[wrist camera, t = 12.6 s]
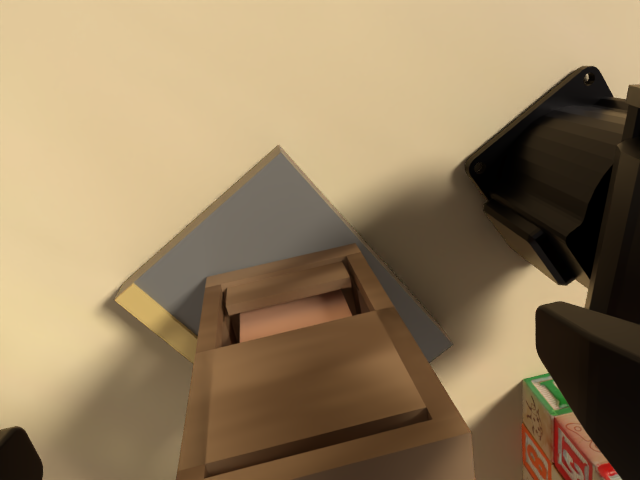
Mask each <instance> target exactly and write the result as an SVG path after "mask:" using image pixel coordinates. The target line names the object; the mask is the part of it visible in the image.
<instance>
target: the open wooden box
mask: <svg viewBox="0 0 640 480" xmlns="http://www.w3.org/2000/svg"><path fill="white" fill-rule="evenodd" d="M339 289H341V291H342V293H343V295H344V298H345V300H346V302H347V305H348V307H349V309H350V312H351V314H352V316H350V317H346V318H342V319H338V320H333V321H329V322H325V323H321V324H317V325H313V326H308V327H304V328H300V329H296V330H292V331H287V332H283V333H279V334H275V335H271V336H267V337H262V338H258V339H254V340H250V341H246V342H242V343H240V313H241V312H246V311H250V310H254V309H258V308H263V307H267V306H271V305H275V304H280V303H284V302H288V301H292V300H297V299H301V298H305V297H309V296H314V295H318V294H322V293H326V292H331V291H335V290H339ZM176 480H475V472H474V460H473V447H472V435H471V431H470V429H469V428H468V426H467V424H466V423H465V421H464V420H463V418H462V416H461V415H460V413H459V411H458V410H457V408H456V406H455V405H454V403H453V402H452V400H451V398H450V397H449V395H448V393H447V392H446V390H445V389H444V387H443V385H442V384H441V382H440V380H439V379H438V377H437V375H436V374H435V372H434V371H433V369H432V367H431V366H430V364H429V362H428V361H427V359H426V357H425V356H424V354H423V353H422V351H421V349H420V348H419V346H418V344H417V343H416V341H415V340H414V338H413V336H412V335H411V333H410V331H409V330H408V328H407V326H406V325H405V323H404V322H403V320H402V318H401V317H400V315H399V313H398V312H397V310H396V309H395V307H394V305H393V304H392V302H391V300H390V299H389V297H388V295H387V294H386V292H385V291H384V289H383V287H382V286H381V284H380V282H379V281H378V279H377V277H376V276H375V274H374V273H373V271H372V269H371V268H370V266H369V264H368V263H367V261H366V260H365V258H364V256H363V255H362V253H361V251H360V250H359V248H358V246H357V245H356V243H354V244H349V245H345V246H340V247H336V248H332V249H327V250H323V251H319V252H314V253H310V254H305V255H301V256H297V257H292V258H288V259H283V260H279V261H275V262H270V263H266V264H262V265H257V266H253V267H248V268H244V269H240V270H235V271H231V272H227V273H222V274H218V275H213V276H209V277H207V279H206V286H205V292H204V299H203V305H202V312H201V319H200V325H199V332H198V339H197V345H196V352H195V358H194V365H193V372H192V378H191V385H190V392H189V398H188V405H187V411H186V418H185V425H184V431H183V438H182V445H181V451H180V458H179V465H178V471H177V478H176Z"/></svg>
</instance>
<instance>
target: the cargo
mask: <svg viewBox="0 0 640 480" xmlns="http://www.w3.org/2000/svg"><path fill="white" fill-rule="evenodd" d="M350 316H352V314H351V312H350V309H349V307H348V305H347V302H346V300H345V298H344V295H343V293H342V291H341V289H339V290H335V291H331V292H326V293H322V294H318V295H314V296H309V297H305V298H301V299H297V300H292V301H288V302H284V303H280V304H275V305H271V306H267V307H263V308H258V309H254V310H250V311H246V312H241V313H240V343H242V342H246V341H250V340H254V339H258V338H262V337H267V336H271V335H275V334H279V333H283V332H287V331H292V330H296V329H300V328H304V327H308V326H313V325H317V324H321V323H325V322H329V321H333V320H338V319H342V318H346V317H350Z"/></svg>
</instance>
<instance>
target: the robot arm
mask: <svg viewBox="0 0 640 480" xmlns="http://www.w3.org/2000/svg"><path fill="white" fill-rule="evenodd" d="M586 74H588V75H589V79H588V81H587V83H586V84H584V82H583V79H584V76H585V75H586ZM479 162H481V164H482V167H481V169H480V170H479V171H477V172H475V170H474V168H475V165H476V164H477V163H479ZM465 171H466V173H467V175H468V176H469V177H470V179H471V180H472V181H473V183H474V184H475V186H476V187H477V188H478V190H479V191H480V192H481V194H482V195H483V197H484V198H485V199H486V201H487V202H486V203H485V204H484V209H483V211H484V213H485V214H486V215H487V217H488V218H489V219H490V221H491V222H492V223H493V225H494V226H495V227H496V229H497V230H498V232H499V233H500V234H501V236H502V237H503V238H504V240H505V241H506V242H507V244H508V245H509V246H510V248H512V249H513V250H514V251H515V252H517V253H518V254H519V255H521V256H522V257H523V258H524V259H526V260H527V261H528V262H530V263H531V264H532V265H533V266H535V267H536V268H537V269H539V270H540V271H541V272H542V273H544V274H545V275H546V276H548V277H549V278H550V279H551V280H553V281H554V282H555V283H557V284H558V285H565V286H567V285H568V284H569V283H571V282H572V281H573V280H577V281H578V282H579V283H581V284H582V285H584V286H585V287H586V288H588V293H587V298H586V303H585V308H582V307H579V306H575V305H572V304H569V303H565V302H561V301H558V302H554V303H549V304H545V305H541V306H539V307H538V308H537V310H536V315H535V321H536V349H537V353H538V355H539V358H540V359H541V361H542V363H543V364H544V366H545V368H546V369H547V371H548V372H549V374H550V376H551V377H552V379H553V381H554V382H555V384H556V385H557V387H558V389H559V390H560V392H561V393H562V395H563V397H564V398H565V400H566V402H567V403H568V405H569V406H570V408H571V410H572V411H573V413H574V415H575V416H576V418H577V419H578V421H579V422H580V424H581V425H582V427H583V429H584V430H585V432H586V433H587V434H588V436H589V437H590V438H591V440H592V441H593V442H594V444H595V445H596V446H597V448H598V449H599V450H600V452H601V453H602V454H603V455H604V457H605V458H606V459H607V461H608V462H609V463H610V465H611V466H612V467H613V468H614V470H615V471H616V472H617V474H618V475H619V476H620V478H621V479H622V480H640V84H638V85H629V88H628V93H627V98H626V99H620V98H614V97H613V95H612V93H611V91H610V89H609V87H608V86H607V84H606V82H605V80H604V78H603V76H602V75H601V73H600V71H599V70H598V69H597V68H596V67H593V66H582V67H580V68H578V69H577V70H576V71H574V72H573V73H572V74H571V75H569V76H568V77H567V78H566V79H565V80H563V81H562V82H561V83H560V84H559V85H557V86H556V87H555V88H554V89H552V90H551V91H550V92H549V93H548V94H546V95H545V96H544V97H543V98H542V99H540V100H539V101H538V102H537V103H535V104H534V105H533V106H532V107H531V108H529V109H528V110H527V111H526V112H524V113H523V114H522V115H521V116H520V117H518V118H517V119H516V120H515V121H514V122H512V123H511V124H510V125H509V126H507V127H506V128H505V129H504V130H503V131H501V132H500V133H499V134H498V135H496V136H495V137H494V138H493V139H492V140H490V141H489V142H488V143H487V144H486V145H484V146H483V147H482V148H481V149H479V150H478V151H477V152H476V153H475V154H473V155H472V156H471V157H470V158H469V159H468V160H467V162H466V164H465ZM42 477H43V466H42V462H41V459H40V457H39V455H38V454H37V452H36V450H35V448H34V446H33V444H32V442H31V441H30V439H29V437H28V435H27V433H26V432H25V430H24V429H23V428H21V427H18V426H15V427H10V428H6V429H1V430H0V480H42Z"/></svg>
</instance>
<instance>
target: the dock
mask: <svg viewBox="0 0 640 480" xmlns="http://www.w3.org/2000/svg"><path fill="white" fill-rule="evenodd" d="M354 243H356V245H357V246H358V248H359V250H360V251H361V253H362V255H363V256H364V258H365V260H366V261H367V263H368V264H369V266H370V268H371V269H372V271H373V273H374V274H375V276H376V277H377V279H378V281H379V282H380V284H381V286H382V287H383V289H384V291H385V292H386V294H387V295H388V297H389V299H390V300H391V302H392V304H393V305H394V307H395V309H396V310H397V312H398V313H399V315H400V317H401V318H402V320H403V322H404V323H405V325H406V326H407V328H408V330H409V331H410V333H411V335H412V336H413V338H414V340H415V341H416V343H417V344H418V346H419V348H420V349H421V351H422V353H423V354H424V356H425V357H426V359H427V361H428V362H429V363H430V362H431V361H432V360H434V359H435V358H436V357H438V356H439V355H440V354H441V353H443V352H444V351H445V350H447V349H448V348H449V347H451V346H452V345H453V343H452V342H451V340H450V339H449V338H448V336H447V335H446V333H445V332H444V330H443V329H442V327H441V326H440V325H439V324H438V323H437V322H436V321H435V319H434V318H433V317H432V316H431V315H430V314H429V313H428V312H427V310H426V309H425V308H424V307H423V306H422V305H421V304H420V303H419V301H418V300H417V299H416V298H415V297H414V296H413V295H412V294H411V292H410V291H409V290H408V289H407V288H406V287H405V286H404V285H403V284H402V282H401V281H400V280H399V279H398V278H397V277H396V276H395V275H394V273H393V272H392V271H391V270H390V269H389V268H388V267H387V266H386V264H385V263H384V262H383V261H382V260H381V259H380V258H379V257H378V255H377V254H376V253H375V252H374V251H373V250H372V249H371V248H370V246H369V245H368V244H367V243H366V242H365V241H364V240H363V239H362V237H361V236H360V235H359V234H358V233H357V232H356V231H355V230H354V229H353V227H352V226H351V225H350V224H349V223H348V222H347V221H346V220H345V218H344V217H343V216H342V215H341V214H340V213H339V212H338V211H337V209H336V208H335V207H334V206H333V205H332V204H331V203H330V202H329V200H328V199H327V198H326V197H325V196H324V195H323V194H322V193H321V191H320V190H319V189H318V188H317V187H316V186H315V185H314V184H313V182H312V181H311V180H310V179H309V178H308V177H307V176H306V175H305V174H304V172H303V171H302V170H301V169H300V168H299V167H298V166H297V165H296V163H295V162H294V161H293V160H292V159H291V158H290V157H289V156H288V154H287V153H286V152H285V151H284V150H283V149H282V148H281V147H280V145H278V146H277V147H276V148H275V149H273V150H272V151H271V152H270V153H269V154H268V155H267V156H266V157H264V158H263V159H262V160H261V161H260V162H259V163H258V164H257V165H255V166H254V167H253V168H252V169H251V170H250V171H249V172H248V173H246V174H245V175H244V176H243V177H242V178H241V179H240V180H239V181H237V182H236V183H235V184H234V185H233V186H232V187H231V188H230V189H228V190H227V191H226V192H225V193H224V194H223V195H222V196H221V197H219V198H218V199H217V200H216V201H215V202H214V203H213V204H212V205H210V206H209V207H208V208H207V209H206V210H205V211H204V212H203V213H201V214H200V215H199V216H198V217H197V218H196V219H195V220H194V221H192V222H191V223H190V224H189V225H188V226H187V227H186V228H185V229H183V230H182V231H181V232H180V233H179V234H178V235H177V236H176V237H174V238H173V239H172V240H171V241H170V242H169V243H168V244H167V245H165V246H164V247H163V248H162V249H161V250H160V251H159V252H158V253H156V254H155V255H154V256H153V257H152V258H151V259H150V260H149V261H147V262H146V263H145V264H144V265H143V266H142V267H141V268H140V269H138V270H137V271H136V272H135V273H134V274H133V275H132V276H131V277H129V278H128V279H127V280H126V281H125V282H124V283H123V284H122V286H121V288H120V290H119V292H118V294H117V295H116V297H115V299H114V300H115V301H116V302H117V303H118V304H119V305H121V306H122V307H123V308H124V309H126V310H127V311H128V312H129V313H131V314H132V315H133V316H134V317H136V318H137V319H138V320H139V321H141V322H142V323H143V324H144V325H146V326H147V327H148V328H149V329H150V330H152V331H153V332H154V333H155V334H157V335H158V336H159V337H160V338H162V339H163V340H164V341H165V342H167V343H168V344H169V345H170V346H172V347H173V348H174V349H175V350H177V351H178V352H179V353H180V354H181V355H183V356H184V357H185V358H186V359H188V360H189V361H190V362H191V363H193V364H194V358H195V352H196V345H197V339H198V332H199V325H200V319H201V312H202V305H203V299H204V292H205V286H206V279H207V277H209V276H213V275H218V274H222V273H227V272H231V271H235V270H240V269H244V268H248V267H253V266H257V265H262V264H266V263H270V262H275V261H279V260H283V259H288V258H292V257H297V256H301V255H305V254H310V253H314V252H319V251H323V250H327V249H332V248H336V247H340V246H345V245H349V244H354Z"/></svg>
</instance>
